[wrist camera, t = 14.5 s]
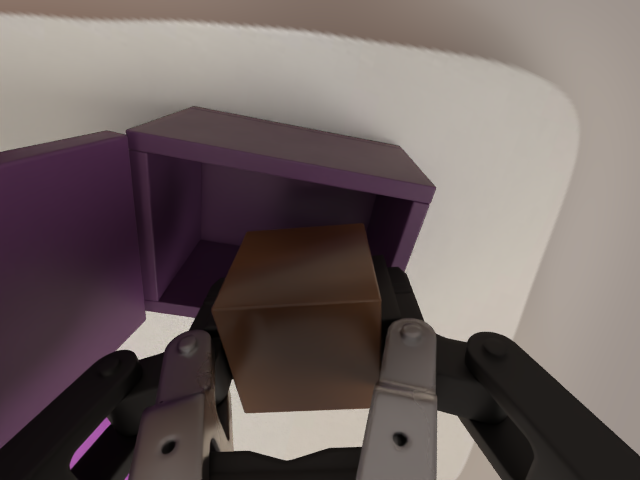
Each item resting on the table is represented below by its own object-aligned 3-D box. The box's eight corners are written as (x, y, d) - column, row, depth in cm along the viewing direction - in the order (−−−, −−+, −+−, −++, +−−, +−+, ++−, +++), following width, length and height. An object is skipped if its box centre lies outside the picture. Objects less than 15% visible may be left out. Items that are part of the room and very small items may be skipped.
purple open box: (400, 146, 18) (437, 187, 12) (363, 269, 22) (377, 344, 16) (193, 105, 17) (124, 129, 11) (193, 241, 21) (143, 311, 15)
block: (364, 222, 12) (381, 299, 8) (366, 313, 14) (381, 408, 10) (246, 230, 12) (209, 309, 8) (266, 319, 14) (243, 414, 10)
